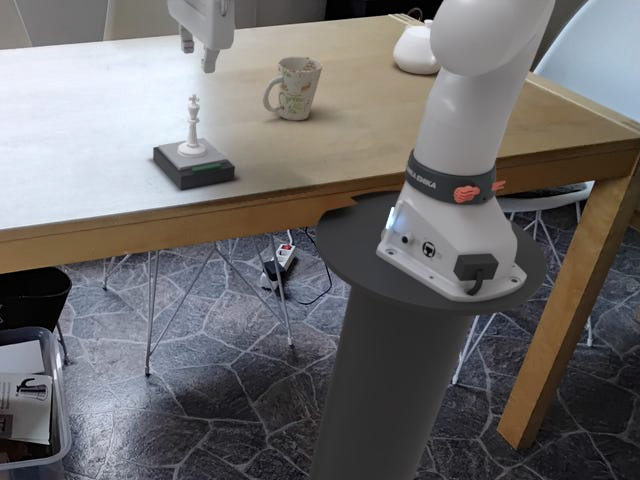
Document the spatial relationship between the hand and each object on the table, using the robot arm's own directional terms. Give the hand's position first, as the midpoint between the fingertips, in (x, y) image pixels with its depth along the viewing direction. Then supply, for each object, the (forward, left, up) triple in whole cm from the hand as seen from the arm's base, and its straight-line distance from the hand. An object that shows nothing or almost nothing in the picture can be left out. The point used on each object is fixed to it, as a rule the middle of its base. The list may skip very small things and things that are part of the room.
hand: (197, 61), depth 115 cm
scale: (-1, 0, -18) cm, 18 cm away
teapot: (+26, -70, -18) cm, 77 cm away
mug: (+13, -27, -18) cm, 35 cm away
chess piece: (0, 0, -15) cm, 15 cm away
